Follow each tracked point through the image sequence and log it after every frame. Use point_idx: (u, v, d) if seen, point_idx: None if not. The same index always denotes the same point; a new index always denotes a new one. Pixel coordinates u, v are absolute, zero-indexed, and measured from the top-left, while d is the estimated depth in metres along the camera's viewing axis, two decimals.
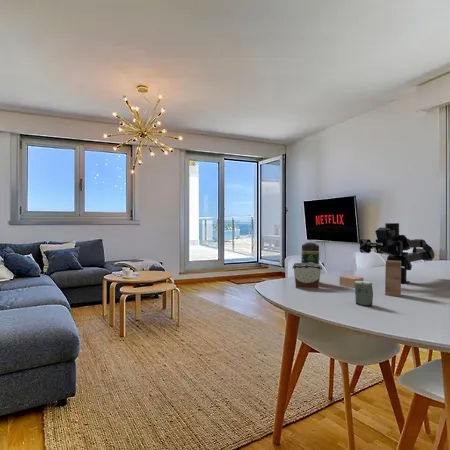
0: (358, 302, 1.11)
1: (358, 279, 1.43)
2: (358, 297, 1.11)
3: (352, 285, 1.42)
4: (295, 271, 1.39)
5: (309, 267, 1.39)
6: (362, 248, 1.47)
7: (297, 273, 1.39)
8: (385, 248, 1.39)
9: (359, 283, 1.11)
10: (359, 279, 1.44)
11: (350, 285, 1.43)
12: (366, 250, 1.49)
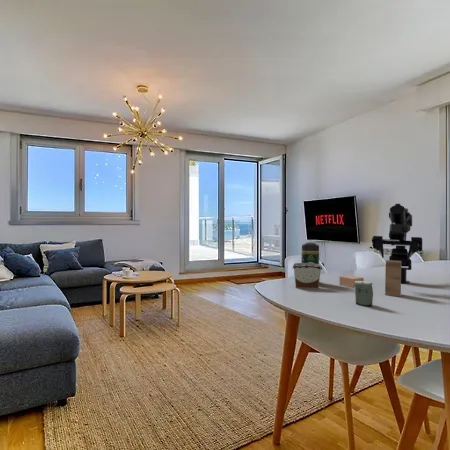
0: (358, 302, 1.11)
1: (358, 279, 1.43)
2: (358, 297, 1.11)
3: (352, 285, 1.42)
4: (295, 271, 1.39)
5: (309, 267, 1.39)
6: (383, 254, 1.39)
7: (297, 273, 1.39)
8: (411, 253, 1.33)
9: (359, 283, 1.11)
10: (359, 279, 1.44)
11: (350, 285, 1.43)
12: None
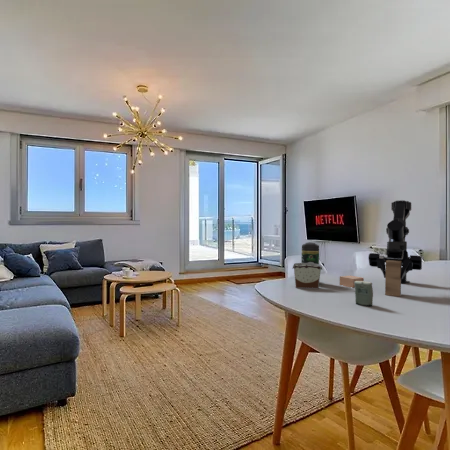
0: (358, 302, 1.11)
1: (358, 279, 1.43)
2: (358, 297, 1.11)
3: (351, 285, 1.42)
4: (295, 271, 1.39)
5: (309, 267, 1.39)
6: (385, 274, 1.30)
7: (297, 273, 1.39)
8: (404, 273, 1.27)
9: (359, 283, 1.11)
10: (359, 279, 1.43)
11: (349, 285, 1.43)
12: None
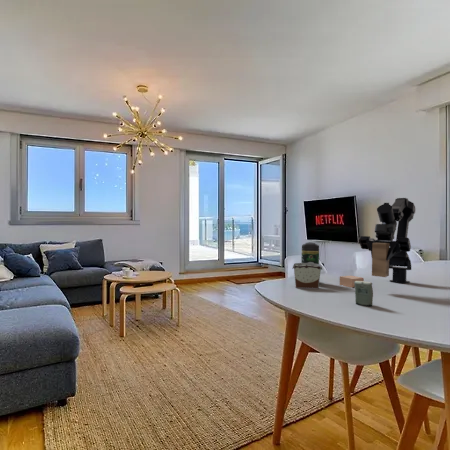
0: (358, 302, 1.11)
1: (357, 279, 1.43)
2: (358, 297, 1.11)
3: (351, 285, 1.42)
4: (295, 271, 1.39)
5: (309, 267, 1.39)
6: None
7: (297, 273, 1.39)
8: (390, 254, 1.30)
9: (359, 283, 1.11)
10: (359, 279, 1.43)
11: (349, 285, 1.43)
12: None
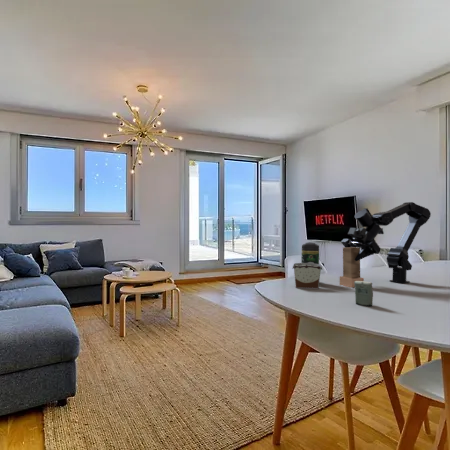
0: (358, 302, 1.11)
1: (357, 279, 1.43)
2: (358, 297, 1.11)
3: (350, 285, 1.42)
4: (295, 271, 1.39)
5: (309, 267, 1.39)
6: None
7: (297, 273, 1.39)
8: (360, 255, 1.42)
9: (359, 283, 1.11)
10: (358, 279, 1.43)
11: (349, 285, 1.43)
12: None
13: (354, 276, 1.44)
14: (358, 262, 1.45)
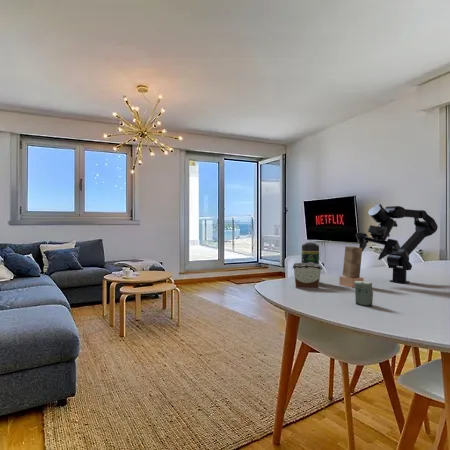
0: (358, 302, 1.11)
1: (357, 279, 1.43)
2: (358, 297, 1.11)
3: (350, 285, 1.42)
4: (295, 271, 1.39)
5: (309, 267, 1.39)
6: None
7: (297, 273, 1.39)
8: (383, 254, 1.44)
9: (359, 283, 1.11)
10: (358, 279, 1.43)
11: (348, 285, 1.43)
12: (365, 245, 1.54)
13: (353, 276, 1.44)
14: (359, 262, 1.44)
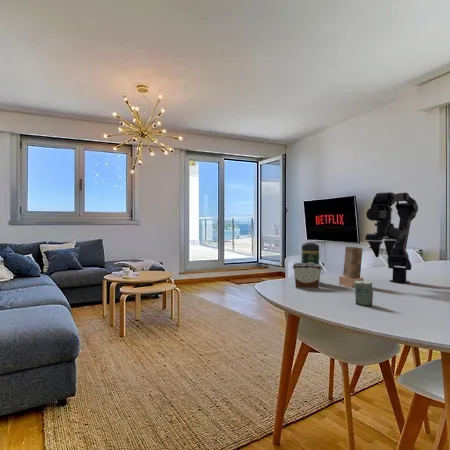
0: (358, 302, 1.11)
1: (357, 279, 1.43)
2: (358, 297, 1.11)
3: (350, 285, 1.42)
4: (295, 271, 1.39)
5: (309, 267, 1.39)
6: None
7: (297, 273, 1.39)
8: None
9: (359, 283, 1.11)
10: (358, 279, 1.44)
11: (348, 285, 1.43)
12: None
13: (353, 276, 1.44)
14: (359, 262, 1.44)
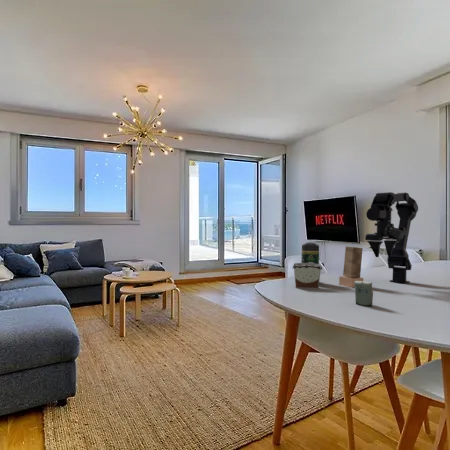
0: (358, 302, 1.11)
1: (357, 279, 1.43)
2: (358, 297, 1.11)
3: (350, 285, 1.42)
4: (295, 271, 1.39)
5: (309, 267, 1.39)
6: None
7: (297, 273, 1.39)
8: None
9: (359, 283, 1.11)
10: (358, 279, 1.43)
11: (348, 285, 1.43)
12: None
13: (354, 276, 1.44)
14: (359, 262, 1.45)
